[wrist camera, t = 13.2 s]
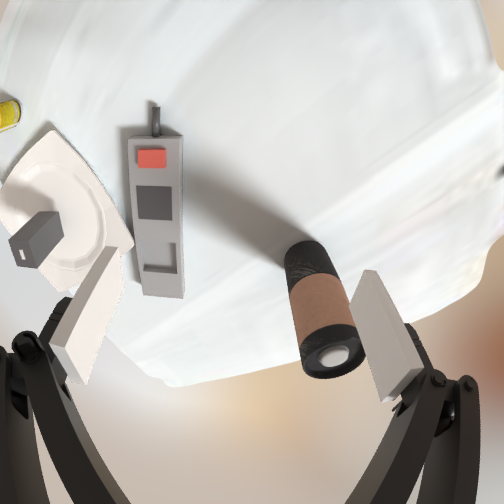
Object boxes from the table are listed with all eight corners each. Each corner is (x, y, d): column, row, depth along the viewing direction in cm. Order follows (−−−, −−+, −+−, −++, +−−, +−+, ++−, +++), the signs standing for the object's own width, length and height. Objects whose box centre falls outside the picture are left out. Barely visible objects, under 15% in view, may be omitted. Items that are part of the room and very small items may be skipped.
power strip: (133, 107, 32) (125, 110, 30) (184, 106, 33) (179, 108, 30) (146, 286, 49) (142, 298, 46) (184, 290, 49) (182, 301, 47)
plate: (66, 290, 50) (61, 299, 48) (-5, 199, 38) (-13, 205, 35) (149, 238, 44) (145, 247, 42) (63, 114, 32) (53, 118, 30)
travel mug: (285, 281, 49) (303, 384, 32) (278, 243, 45) (298, 348, 28) (329, 273, 48) (364, 371, 31) (327, 234, 44) (371, 333, 27)
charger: (38, 211, 37) (7, 240, 30) (58, 211, 38) (28, 241, 30) (44, 235, 40) (17, 266, 32) (64, 236, 40) (37, 268, 32)
